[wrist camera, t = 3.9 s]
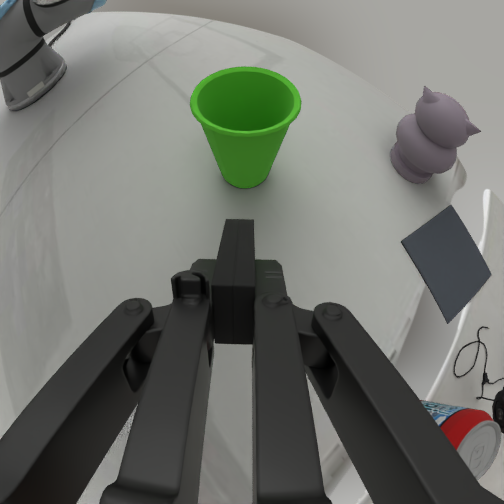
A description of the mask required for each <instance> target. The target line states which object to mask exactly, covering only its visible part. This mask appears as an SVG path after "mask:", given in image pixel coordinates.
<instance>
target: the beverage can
mask: <svg viewBox="0 0 504 504" xmlns="http://www.w3.org/2000/svg"><path fill="white" fill-rule="evenodd" d="M420 401H421V402H422V404H423V405H424V406H425V408H426V409H427V410H428V412H429V413H430V414H431V416H432V417H433V418H434V420H435V421H436V423H437V424H438V425H439V427H440V428H441V429H442V431H443V432H444V434H445V435H446V436H447V438H448V439H449V441H450V442H451V443H452V445H453V446H454V448H455V449H456V450H457V452H458V453H459V455H460V456H461V458H462V459H463V461H464V462H465V463H466V465H467V466H468V468H469V469H470V471H471V472H472V474H473V475H474V477H475V478H476V480H479V479H480V478H481V477H482V476H483V475H484V474H485V473H486V471H487V470H488V469H489V468H490V466H491V465H492V463H493V461H494V459H495V457H496V455H497V453H498V450H499V447H500V443H501V429H500V427H499V425H498V424H497V423H496V422H494V421H493V419H492V418H491V417H490V415H489V414H488V413H486V412H485V411H482V410H476V409H469V408H463V407H457V406H451V405H446V404H440V403H434V402H428V401H422V400H420Z"/></svg>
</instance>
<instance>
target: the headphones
mask: <svg viewBox="0 0 504 504" xmlns="http://www.w3.org/2000/svg"><path fill="white" fill-rule="evenodd" d="M481 328H483V327H481ZM481 328H479V330H480V329H481ZM484 328H488V327H484ZM488 329H489V328H488ZM479 330H478V339H479ZM475 342H479V345H480V339H479V341H475ZM472 343H474V342H472ZM472 343H469V344H472ZM481 343H482V342H481ZM469 344H467V345H465V346H464V347H466V346H468V345H469ZM482 344H483V345H484V343H482ZM484 346H485V345H484ZM464 347H463V348H464ZM463 348H462V349H463ZM462 349H461V350H462ZM485 349H486V347H485ZM461 350H460V352H461ZM478 351H479V346H478ZM460 352H459V353H460ZM459 353H458V356H459ZM477 355H478V352H477ZM458 356H457V358H458ZM457 358H456V360H457ZM476 359H477V356H476ZM476 359H475V362H476ZM456 360H455V365H456ZM486 362H487V349H486ZM455 365H454V374H455ZM474 365H475V363H474ZM474 365H473V367H474ZM473 367H472V368H473ZM472 368H471V369H472ZM485 368H486V363H485ZM471 369H470V370H469V371H471ZM469 371H468V372H469ZM468 372H467V373H468ZM467 373H465V374H467ZM465 374H464V375H465ZM464 375H462V376H464ZM455 376H456V377H462V376H457V375H456V374H455ZM502 379H504V378H502ZM499 380H501V379H499ZM499 380H497V381H499ZM497 381H496V382H497ZM486 382H488V383H489V379H488V377H487V373H485V370H484V374H483V382H482V384H483V385H484V384H485V383H486ZM494 383H495V382H494ZM494 383H489V384H494ZM482 395H483V386H482ZM478 398H479V399H481V398H483V399H486V400H492V399H487V398H484V397H482V396H481V397H477V398H476V399H478ZM492 401H494V403H493V406H492V410H493V420H494V422H496V423H497V424H498V425H499V427H500V429H501V432H502V433H504V387H503V390H501V391H499V392H498V393H497V394H496V396H495V399H494V400H492Z"/></svg>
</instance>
